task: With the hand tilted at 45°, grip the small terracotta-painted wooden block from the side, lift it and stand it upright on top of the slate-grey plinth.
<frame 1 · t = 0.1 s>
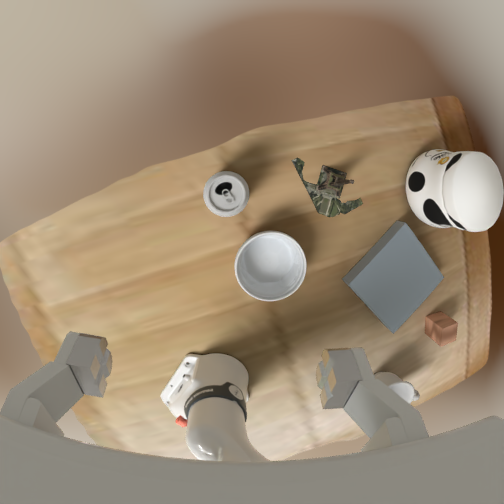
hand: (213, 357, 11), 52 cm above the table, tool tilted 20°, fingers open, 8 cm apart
plinth: (392, 276, 67), on the table
teacup: (382, 379, 74), on the table
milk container: (429, 187, 64), on the table
ramekin: (266, 258, 65), on the table
can: (226, 192, 61), on the table
terracotta block: (432, 322, 71), on the table
eiffel tower figurine: (327, 181, 63), on the table
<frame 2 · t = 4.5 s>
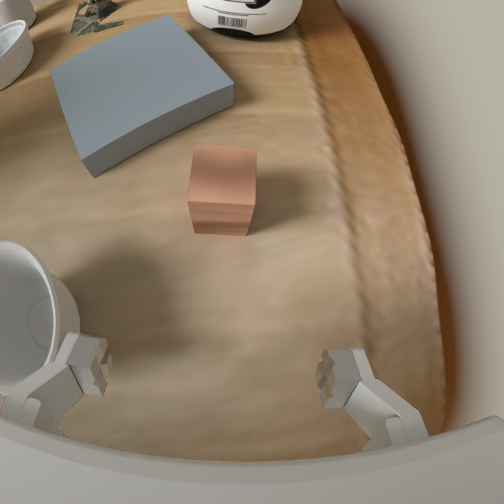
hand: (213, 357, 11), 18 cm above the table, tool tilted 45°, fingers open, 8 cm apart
plinth: (135, 91, 34), on the table
teacup: (66, 329, 27), on the table
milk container: (242, 17, 40), on the table
ramekin: (8, 71, 34), on the table
can: (22, 28, 37), on the table
terracotta block: (222, 210, 31), on the table
eiffel tower figurine: (99, 15, 39), on the table
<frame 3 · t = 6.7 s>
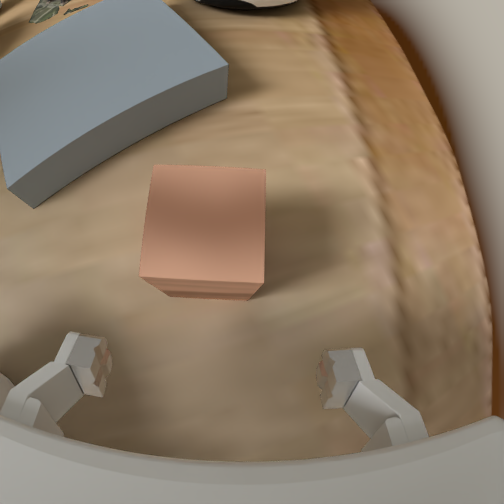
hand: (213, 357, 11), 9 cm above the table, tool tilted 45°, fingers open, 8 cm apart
plinth: (94, 84, 23), on the table
terracotta block: (210, 260, 21), on the table
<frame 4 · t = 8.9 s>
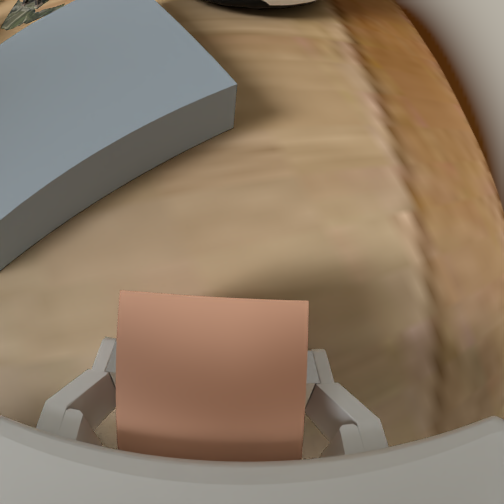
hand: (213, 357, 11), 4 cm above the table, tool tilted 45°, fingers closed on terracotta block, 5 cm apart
plinth: (64, 106, 18), on the table
terracotta block: (214, 362, 15), on the table, touching gripper
eiffel tower figurine: (42, 0, 23), on the table
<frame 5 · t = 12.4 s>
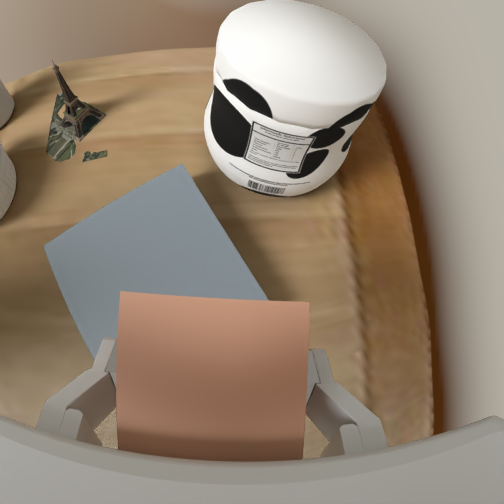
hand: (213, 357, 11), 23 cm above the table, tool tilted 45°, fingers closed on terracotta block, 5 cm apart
plinth: (153, 282, 33), on the table
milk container: (271, 146, 40), on the table
can: (0, 118, 36), on the table
terracotta block: (215, 362, 15), point 18 cm above the table, touching gripper
eiffel tower figurine: (80, 123, 38), on the table
when the fingers open (10 cm above the table, at t = 16.0 s): terracotta block drops 1 cm, resting on plinth.
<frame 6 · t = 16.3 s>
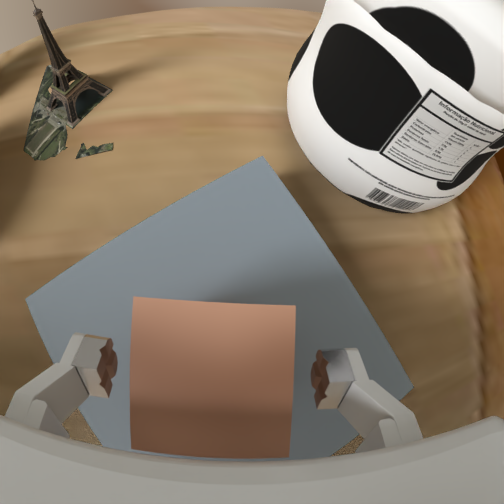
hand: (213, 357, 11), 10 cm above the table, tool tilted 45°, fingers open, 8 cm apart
plinth: (216, 354, 20), on the table
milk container: (370, 138, 26), on the table
terracotta block: (215, 359, 17), point 4 cm above the table, touching plinth
eiffel tower figurine: (75, 103, 25), on the table
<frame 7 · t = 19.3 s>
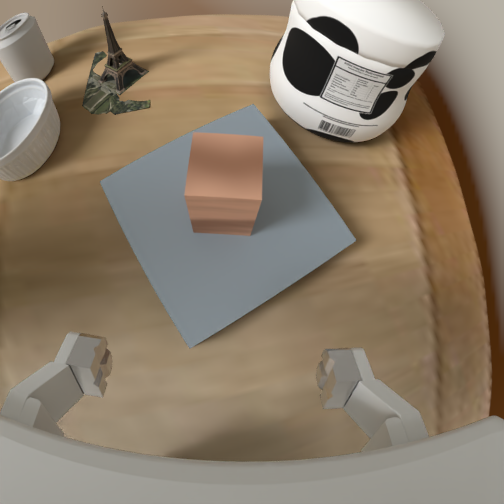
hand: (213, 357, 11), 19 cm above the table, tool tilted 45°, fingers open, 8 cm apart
plinth: (223, 222, 32), on the table
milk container: (328, 101, 38), on the table
ramekin: (28, 146, 33), on the table
can: (36, 75, 36), on the table
terracotta block: (223, 207, 28), point 4 cm above the table, touching plinth
eiffel tower figurine: (120, 79, 37), on the table
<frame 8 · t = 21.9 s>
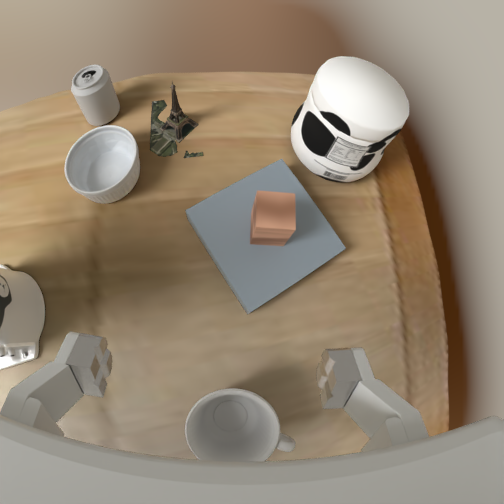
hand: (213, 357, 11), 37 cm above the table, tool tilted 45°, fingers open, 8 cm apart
plinth: (263, 236, 52), on the table
teacup: (238, 416, 45), on the table
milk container: (330, 149, 58), on the table
ramekin: (111, 176, 52), on the table
can: (104, 114, 55), on the table
terracotta block: (267, 229, 48), point 4 cm above the table, touching plinth
eiffel tower figurine: (176, 128, 56), on the table
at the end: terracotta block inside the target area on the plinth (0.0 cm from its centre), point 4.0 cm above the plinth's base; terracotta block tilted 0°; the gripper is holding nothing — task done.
